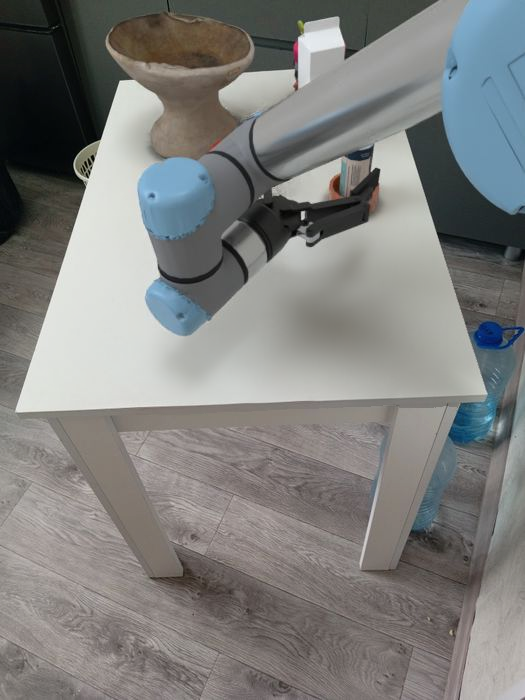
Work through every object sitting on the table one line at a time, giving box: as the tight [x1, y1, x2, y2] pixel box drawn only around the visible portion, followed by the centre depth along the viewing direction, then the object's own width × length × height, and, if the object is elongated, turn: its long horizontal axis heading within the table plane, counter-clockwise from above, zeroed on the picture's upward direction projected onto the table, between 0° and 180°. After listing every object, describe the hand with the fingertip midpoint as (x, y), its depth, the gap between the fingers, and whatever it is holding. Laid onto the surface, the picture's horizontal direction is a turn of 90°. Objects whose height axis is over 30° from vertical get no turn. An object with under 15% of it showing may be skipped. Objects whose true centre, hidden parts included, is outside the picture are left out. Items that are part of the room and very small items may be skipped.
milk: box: [297, 16, 346, 90], centre depth 89 cm, size 6×6×22 cm
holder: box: [327, 172, 380, 215], centre depth 86 cm, size 8×8×4 cm
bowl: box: [105, 10, 256, 161], centre depth 94 cm, size 26×25×20 cm
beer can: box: [339, 143, 375, 197], centre depth 82 cm, size 5×5×12 cm
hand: (336, 161), depth 75 cm, fingers open, 13 cm apart
